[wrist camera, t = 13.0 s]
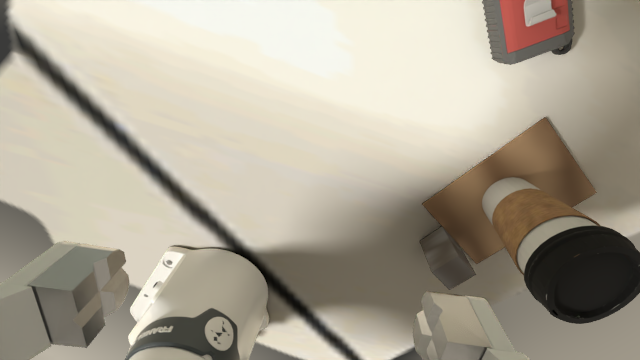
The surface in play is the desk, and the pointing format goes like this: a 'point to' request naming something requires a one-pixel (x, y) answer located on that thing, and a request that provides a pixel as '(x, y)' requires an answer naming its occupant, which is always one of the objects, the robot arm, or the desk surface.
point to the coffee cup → (563, 252)
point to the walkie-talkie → (528, 28)
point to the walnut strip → (467, 193)
